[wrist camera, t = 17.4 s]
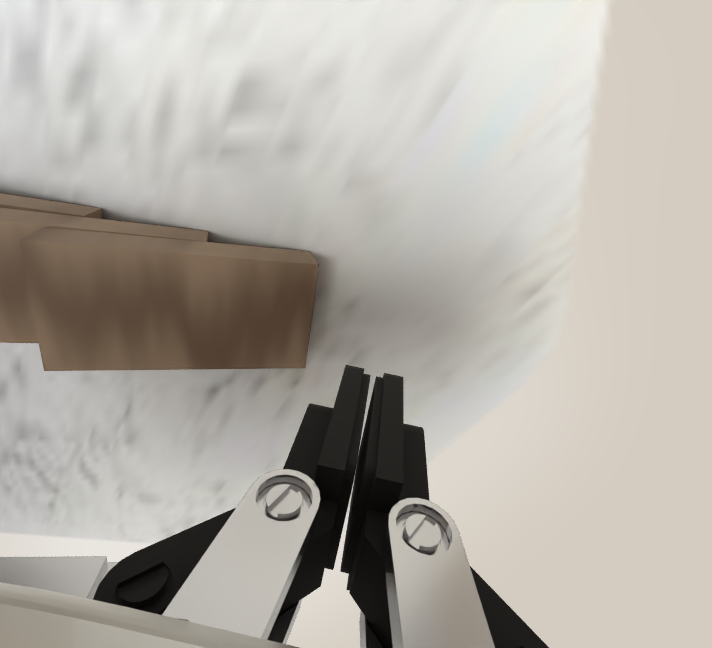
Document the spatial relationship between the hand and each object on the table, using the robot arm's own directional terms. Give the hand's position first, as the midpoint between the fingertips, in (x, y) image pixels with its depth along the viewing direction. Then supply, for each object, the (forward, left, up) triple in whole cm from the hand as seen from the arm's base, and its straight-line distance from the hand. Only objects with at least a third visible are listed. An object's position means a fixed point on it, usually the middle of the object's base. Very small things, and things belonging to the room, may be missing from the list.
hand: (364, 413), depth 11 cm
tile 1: (0, +3, -7) cm, 8 cm away
